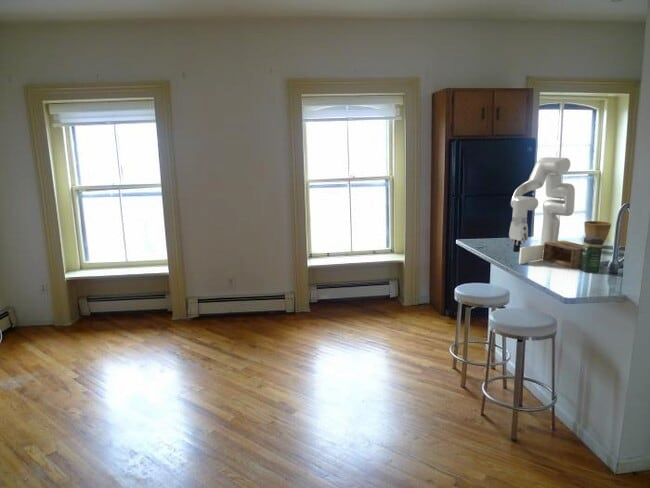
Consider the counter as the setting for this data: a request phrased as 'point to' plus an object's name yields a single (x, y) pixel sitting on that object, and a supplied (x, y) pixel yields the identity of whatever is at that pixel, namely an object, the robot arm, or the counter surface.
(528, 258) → the door
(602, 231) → the plant pot
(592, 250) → the coffee jar
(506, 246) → the counter surface
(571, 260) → the cabinet
